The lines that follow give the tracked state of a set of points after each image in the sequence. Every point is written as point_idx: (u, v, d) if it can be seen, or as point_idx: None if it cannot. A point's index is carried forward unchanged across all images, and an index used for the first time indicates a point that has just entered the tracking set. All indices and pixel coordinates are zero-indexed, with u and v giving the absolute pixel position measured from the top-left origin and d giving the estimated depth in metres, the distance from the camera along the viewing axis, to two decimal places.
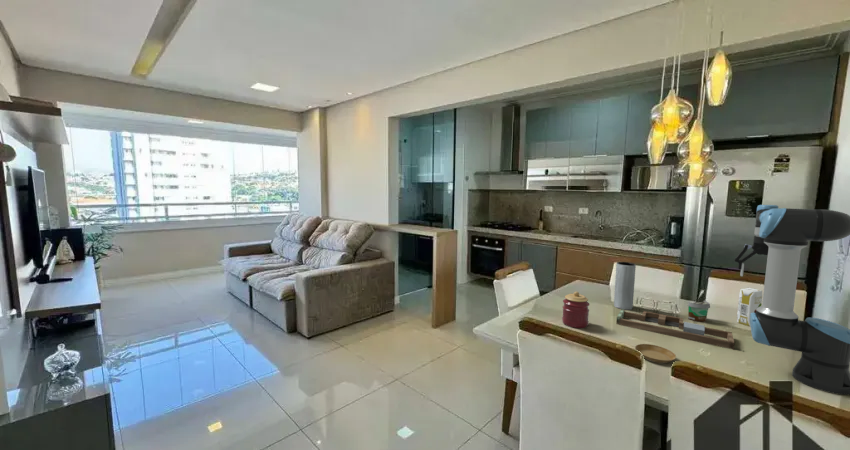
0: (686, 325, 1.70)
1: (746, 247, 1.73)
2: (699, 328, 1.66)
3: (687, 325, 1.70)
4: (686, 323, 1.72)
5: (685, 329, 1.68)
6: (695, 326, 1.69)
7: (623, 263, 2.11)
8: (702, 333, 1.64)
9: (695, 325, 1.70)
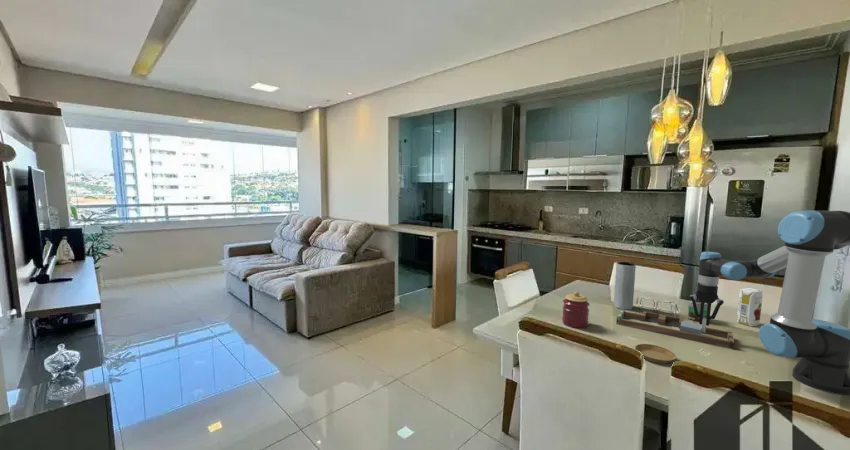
0: (683, 324, 1.71)
1: (692, 298, 1.68)
2: (696, 327, 1.67)
3: (684, 324, 1.71)
4: (683, 322, 1.73)
5: (682, 328, 1.69)
6: (693, 325, 1.69)
7: (623, 263, 2.11)
8: (699, 332, 1.65)
9: (692, 324, 1.71)
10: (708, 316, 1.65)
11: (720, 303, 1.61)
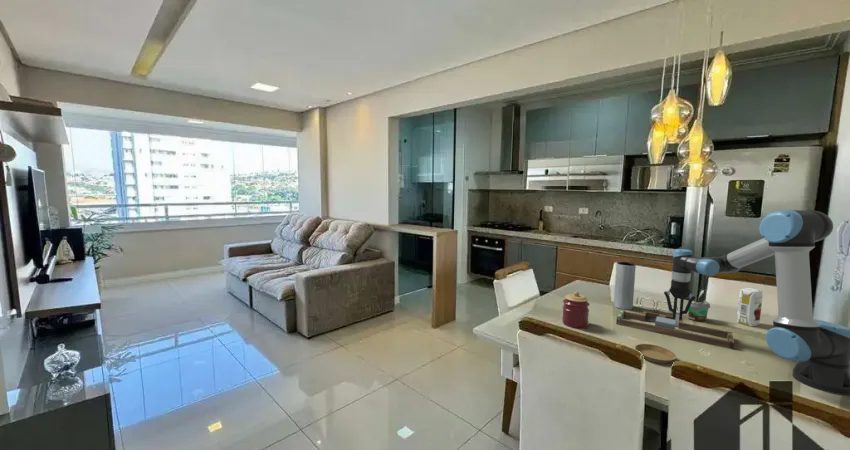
0: (658, 319, 1.77)
1: (666, 294, 1.74)
2: (670, 322, 1.73)
3: (659, 319, 1.77)
4: (658, 317, 1.79)
5: (657, 323, 1.75)
6: (667, 320, 1.75)
7: (623, 263, 2.11)
8: (672, 327, 1.71)
9: (667, 319, 1.77)
10: (681, 311, 1.71)
11: (692, 298, 1.68)
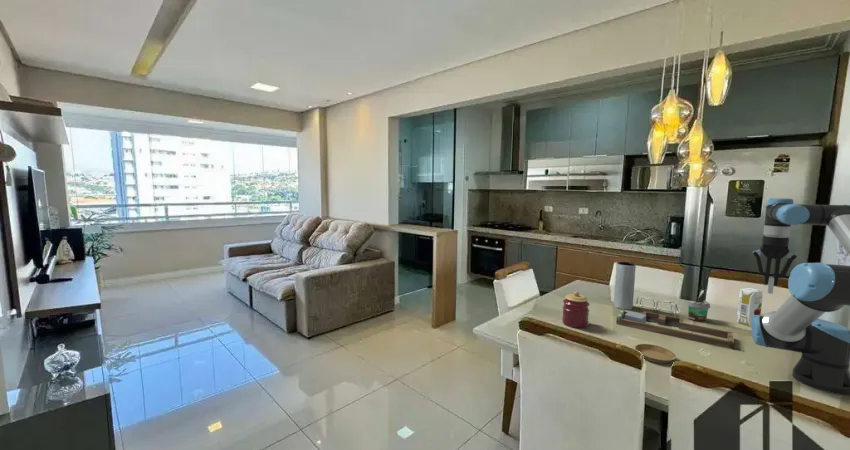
0: (628, 313, 1.85)
1: (756, 254, 1.43)
2: (638, 316, 1.81)
3: (629, 313, 1.85)
4: (630, 312, 1.88)
5: (626, 317, 1.84)
6: (637, 315, 1.83)
7: (623, 263, 2.11)
8: (640, 321, 1.79)
9: (637, 314, 1.85)
10: (776, 274, 1.40)
11: (792, 258, 1.37)
